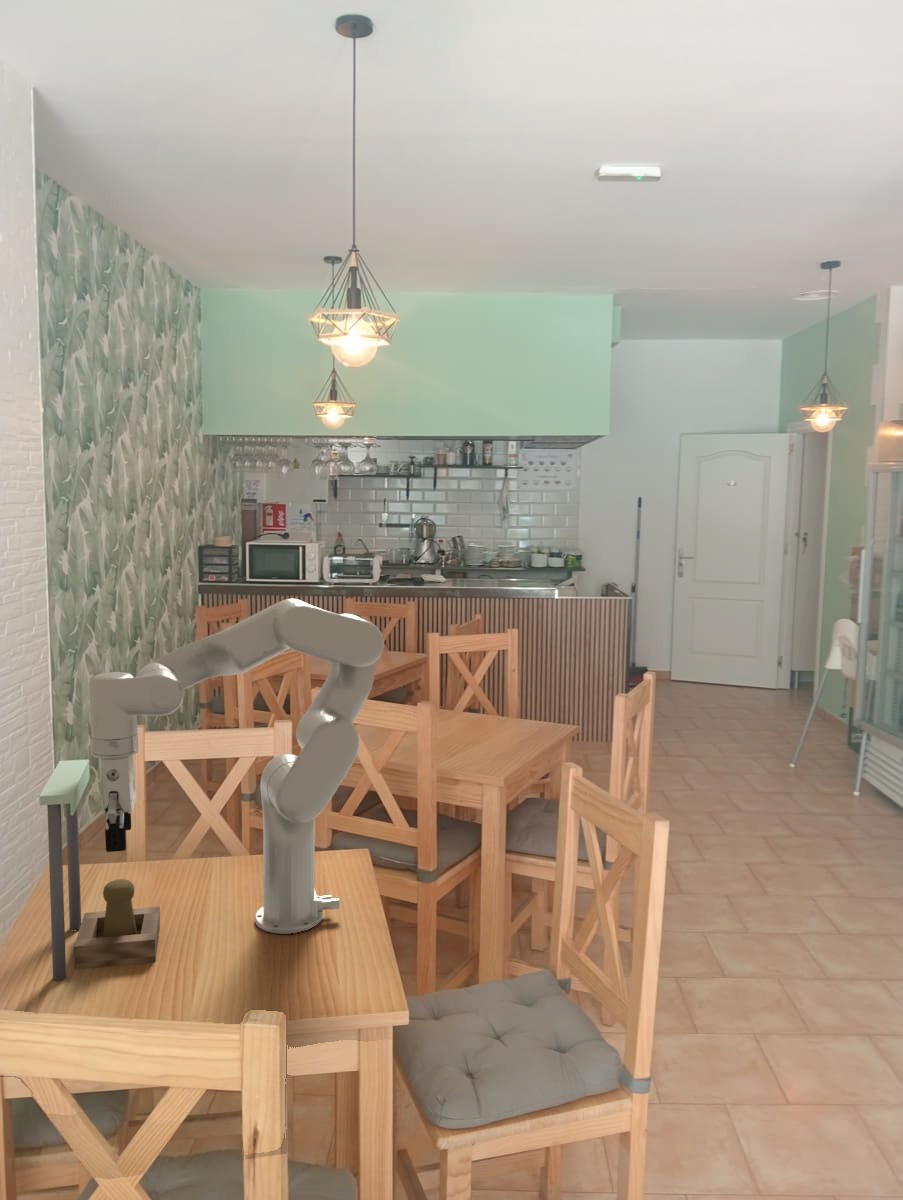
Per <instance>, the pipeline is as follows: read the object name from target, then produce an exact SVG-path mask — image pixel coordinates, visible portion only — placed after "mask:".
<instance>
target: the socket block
mask: <svg viewBox="0 0 903 1200" xmlns="http://www.w3.org/2000/svg"><path fill="white" fill-rule="evenodd" d="M160 909H161V908H160V906H154V907H153V906H151V907H141V908H140V907H139V908H133V912H134V918H135V924H136V930H137V934H136V935H125V936H114V937H103V930H104V922H105V913H106V910H104V911H103V910H102V911H92V912H91V911H90V912H84V913H83V917H82V919H81V926H80V929H79V930H78V933H77V936H76V938H75V939H76V940H75V942H74V945H73V956H74V957H73V959H74V970H81V969H91V968H102V967H103V968H104V967H113V966H124V965H134V964H142V963H143V964H145V963H154V962H157V961H156V959H157V952H158V946H159V938H160V932H161V931H160V929H161V913H160V912H161V910H160Z"/></svg>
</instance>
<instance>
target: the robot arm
mask: <svg viewBox="0 0 903 1200" xmlns="http://www.w3.org/2000/svg"><path fill="white" fill-rule="evenodd" d="M384 649H385V638H384V636H383V633H382V631H381V630H380V628H379V627H378V626H377V625H375V624H374V623H373V622H370V621H369V620H366V619H364V618H362V617H360V616H358V615H355V614H351V613H341V614H339V613H335V612H333V611H328V610H325V609H323V608H320V607H317V606H314V605H311V604H309V603H307V602H306V601H303V600H300V599H298V598H287V599H283V600H281V601H277V602H276V603H274V604H272V605H270V606H268V607H266V608H264V609H262V610H261V611H258V612H256V613H255V614H253V615H250V616H249V617H246V618H245V619H243V620H241V621H239V622H237V623H235V624H234V625H231V626H229V627H227V628H225V629H222V630H221V631H219V632H216V633H213V634H210V635H207V636H206V637H202V638H201V639H198V640H196V641H192V642H190V643H187V644H185V645H183V646H181V647H178V648H177V649H174V650H172V651H170V652H168V653H166V654H164V655H162V656H160V657H158V658H157V659H155V660H153V661H151V662H149V663H147V664H145V666H143V667H142V668H140V669H139V671H138V673H136V676H133V675H132V674H131V673H128V672H123V671H113V672H111V671H110V672H103V673H98V674H96V675H94V676H93V677H91V679H90V680H89V684H88V693H89V696H88V697H89V714H90V715H89V717H90V735H91V737H90V738H91V756H92V757H93V758H96V759H99V785H100V786H99V787H100V801H101V811H102V814H103V815H104V816H105V829H104V833H105V834H104V835H105V836H104V837H105V838H104V839H105V851H106V852H107V853H111V852H112V853H114V852H124V851H126V849H127V836H126V835H127V833H126V831H130V830H131V829H132V812H133V811H134V807H135V805H136V801H137V787H136V775H135V772H136V771H135V759H134V755H135V754H137V753H139V736H138V733H139V732H138V716H147V717H149V716H150V717H162V716H163V717H164V716H168V715H171V714H172V713H174V712H176V711H177V710H179V708H180V707H181V705H182V704H183V702H184V697H185V691H184V690H186V689H188V688H190V687H192V686H195V685H196V684H198V683H201V682H203V681H206V680H208V679H212V678H216V677H222V676H224V677H225V676H237V675H241V674H245V673H248V672H249V671H251V670H253V669H254V668H256V667H258V666H260V665H262V664H264V663H266V662H268V661H270V660H272V659H273V658H275V657H277V656H279V655H280V654H283V653H285V652H286V651H289V650H292V651H295V652H297V653H301V654H304V655H307V656H310V657H314V658H318V659H322V660H325V661H330V669H329V672H328V675H327V677H326V679H325V681H324V682H323V685H322V686H321V687H320V690H319V691H318V693H317V694H316V696H315V698H314V699H313V701H312V702H311V704H310V705H309V707H307V710H306V712H304V714H303V716H302V717H301V719H300V720H299V722H298V724H297V726H296V729H295V737H296V741H297V744H298V745H299V747H300V748H301V751H300V753H299V754H298V755H296V754H292V753H285V754H283V753H282V754H279V755H277V756H275V757H273V758H272V759H271V760H270V761H268V762H267V764H266V765H265V767H264V768H263V771H262V774H261V778H260V798H261V809H262V825H263V826H262V828H263V830H262V832H263V836H262V839H263V845H262V847H263V849H262V850H263V851H262V854H263V855H262V857H263V861H262V862H263V863H262V864H263V867H262V868H263V869H262V870H263V873H262V874H263V875H262V876H263V881H262V882H263V883H262V884H263V891H262V892H263V906H262V907H260V908H259V909H258V910H257V911H256V913H255V916H254V920H255V921H254V922H255V924H256V926H257V927H258V928H259V929H261V930H262V931H265V932H268V933H272V934H276V935H277V934H279V935H287V934H288V935H292V934H291V933H293V934H298V933H297V932H299V933H301V932H300V931H304V930H307V931H309V930H308V929H310V928H312V927H314V926H315V927H317V926H318V925H319V924H320V923H321V922H322V921H323V919H322V918H323V916H324V915H323V914H324V912H323V911H325V910H330V911H332V910H340V899H339V898H332V894H327V895H326V894H325V895H319V894H317V892H316V888H315V877H316V876H315V870H316V869H315V862H316V861H315V858H316V857H315V853H316V852H315V851H316V850H315V849H316V848H315V846H316V845H315V844H316V842H315V841H316V822H315V821H316V820H315V818H317V817H318V816H319V815H320V814H321V813H322V812H323V811H324V810H325V808H326V807H327V805H328V804H329V803H330V801H331V800H332V798H333V797H334V794H335V793H336V792H337V790H338V788H339V787H340V785H341V784H342V782H343V780H344V778H345V777H346V775H347V774H348V772H349V771H350V770H351V768H352V766H353V764H354V763H355V761H356V758H357V755H358V752H359V749H360V748H359V747H360V737H359V733H358V731H357V728H356V727H355V725H354V722H355V721H356V719H357V717H358V715H359V714H360V712H361V710H362V709H363V707H364V705H365V703H366V701H367V700H368V698H369V695H370V693H371V692H372V691H371V690H372V689H373V685H374V680H375V672H376V671H375V670H376V669H375V667H376V666H375V663H376V662H377V661H378V660H379V659H380V658H381V656H382V654H383V652H384ZM321 920H322V921H321ZM320 921H321V922H320ZM319 922H320V923H319ZM318 923H319V924H318ZM317 924H318V925H317ZM316 925H317V926H316ZM315 927H314V928H315ZM312 929H313V928H312ZM310 930H311V929H310ZM304 932H305V931H304Z"/></svg>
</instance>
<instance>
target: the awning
mask: <svg viewBox="0 0 903 1200" xmlns="http://www.w3.org/2000/svg"><path fill="white" fill-rule="evenodd" d="M90 771H91V770H90V759H73V760H72V759H69V760H67V759H66V760H59V761H58V763H57V765H56V766H55V769H54V770H53V771H52V774H51V775H50V777H49V779H48V781H46V784H45V785H44V787H43V789H42V791H41V792H40V794H39V806H47V828H48V829H47V831H48V832H47V833H48V835H47V836H48V861H49V862H48V864H49V867H48V868H49V895H50V898H49V899H50V923H51V924H50V926H51V928H50V929H51V930H50V931H51V954H52V956H51V958H52V980H53V981H55V982H61V981H64V980H65V979H66V978H67V969H66V968H67V967H66V966H67V964H66V963H67V962H66V961H67V960H66V934H65V933H66V930H65V929H66V927H65V903H64V902H65V899H64V898H65V897H64V862H63V834H62V833H63V831H62V830H63V829H62V828H63V827H62V805H65V813H66V814H65V815H66V817H65V818H66V819H65V820H66V821H65V822H66V846H67V847H66V849H67V854H66V855H67V856H66V857H67V878H68V879H67V883H68V885H67V886H68V917H69V919H68V921H69V931H70V930H73V931H72V932H75V931H74V930H78V931H79V929H80V926H81V923H82V904H81V902H82V901H81V872H80V871H81V865H80V863H81V862H80V861H81V860H80V832H79V831H80V830H79V829H80V828H79V826H80V825H79V803H80V801H81V798H82V796H83V795H84V792H85V789H86V788H87V785H88V783H89V781H90V776H91V775H90Z"/></svg>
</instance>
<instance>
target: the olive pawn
mask: <svg viewBox="0 0 903 1200" xmlns="http://www.w3.org/2000/svg"><path fill="white" fill-rule="evenodd" d="M134 894H135V885H134V883H132V881H131V880H128V879H125V878H124V879H123V878H121V879H120V878H118V879H113V880H112V881H109V882H107V883H106V884H105V885H104V887H103V891H102V897H103V899H104V901H105V902H106V905H105V911H106V913H105V922H104V930H103V937H114V936H125V935H136V934H137V930H136V924H135V918H134V912H133V909H134V908H133V907H134V906H133V901H132V899H133V898H134Z"/></svg>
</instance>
